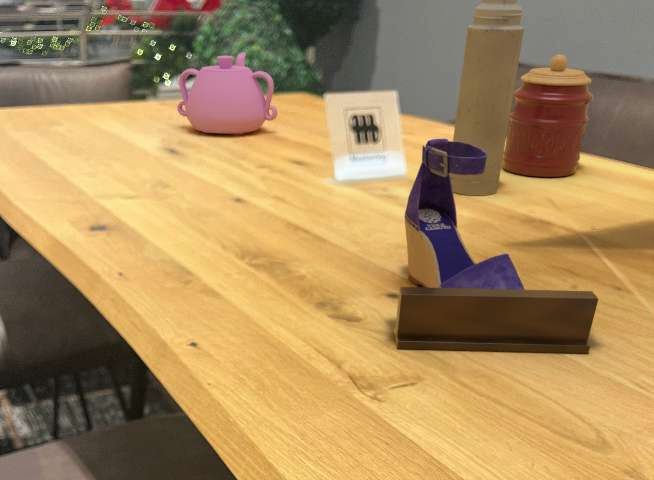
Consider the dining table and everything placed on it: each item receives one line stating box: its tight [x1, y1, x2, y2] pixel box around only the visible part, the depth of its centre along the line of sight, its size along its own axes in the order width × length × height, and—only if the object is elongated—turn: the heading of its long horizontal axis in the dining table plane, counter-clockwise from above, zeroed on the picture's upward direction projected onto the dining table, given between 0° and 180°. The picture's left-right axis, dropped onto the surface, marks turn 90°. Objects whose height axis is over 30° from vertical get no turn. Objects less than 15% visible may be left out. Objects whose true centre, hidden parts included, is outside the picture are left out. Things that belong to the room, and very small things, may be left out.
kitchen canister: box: [502, 54, 594, 178], centre depth 129 cm, size 13×13×18 cm
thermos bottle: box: [449, 0, 525, 196], centre depth 114 cm, size 8×8×28 cm
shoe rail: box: [393, 286, 599, 354], centre depth 72 cm, size 18×4×5 cm, turn 87°
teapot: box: [176, 51, 278, 136], centre depth 161 cm, size 22×22×14 cm
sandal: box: [403, 138, 526, 290], centre depth 78 cm, size 8×20×15 cm, turn 20°
